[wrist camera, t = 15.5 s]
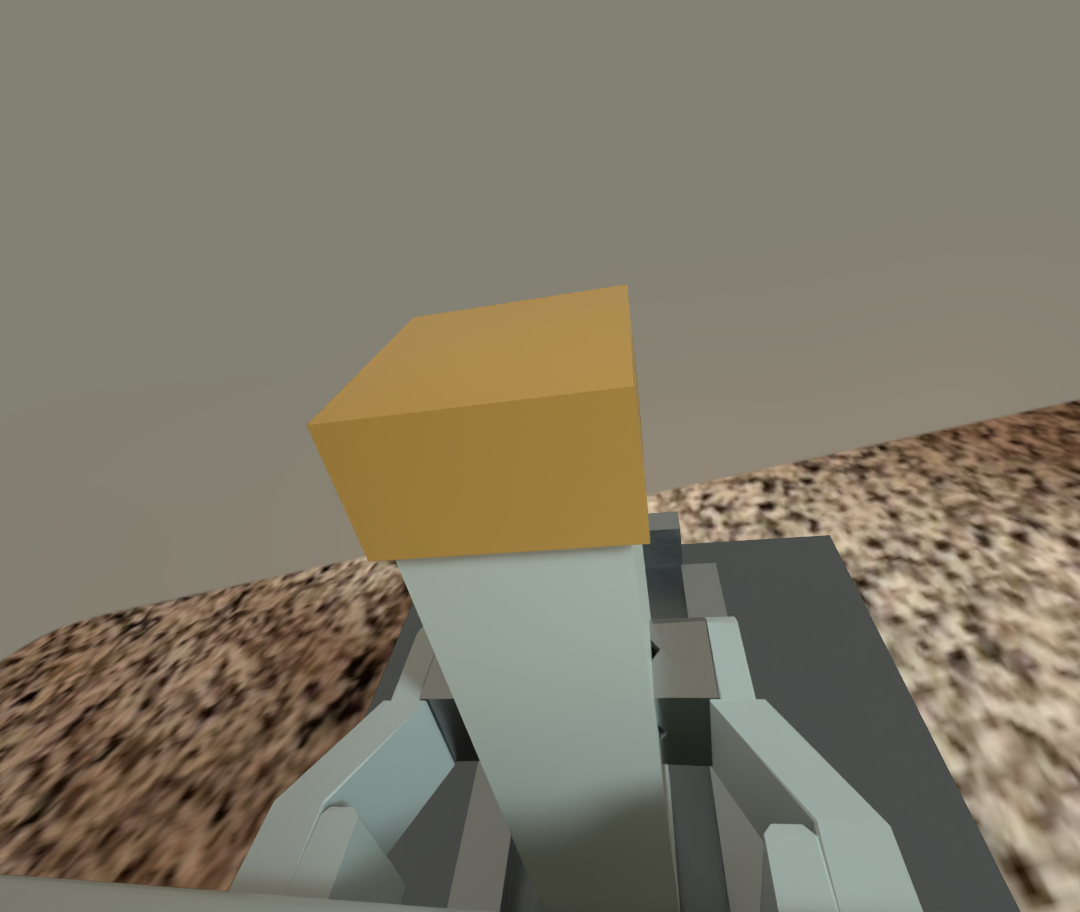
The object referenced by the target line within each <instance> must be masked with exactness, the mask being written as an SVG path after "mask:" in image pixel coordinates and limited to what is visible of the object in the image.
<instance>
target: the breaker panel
mask: <svg viewBox="0 0 1080 912" xmlns="http://www.w3.org/2000/svg"><path fill="white" fill-rule="evenodd" d="M648 520H649V532H650V544H642V546H643V555H644V563H645V572H646V581H647V589H648V598H649V606H650V615H651V619H673V618H696V617H704V618H706V617H732V616H734V617H735V618H736V620H737V622H738V626H739V630H740V634H741V639H742V643H743V647H744V651H745V655H746V660H747V664H748V668H749V672H750V677H751V681H752V685H753V689H754V693H755V698H756V699H765V700H766V701H767V702H768V703H769V704H770V705H771V706H772V707H773V708H774V709H775V710H776V711H777V712H778V713H779V714H780V715H781V716H782V717H783V718H784V719H785V720H786V721H787V722H788V723H789V724H790V725H791V726H792V727H793V728H794V729H795V730H796V731H797V732H798V733H799V734H800V735H801V736H802V737H803V738H804V739H805V740H806V741H807V742H808V743H809V744H810V745H811V746H812V747H813V748H814V749H815V750H816V751H817V752H818V753H819V754H820V755H821V756H822V757H823V758H824V759H825V760H826V761H827V762H828V763H829V764H830V765H831V766H832V767H833V768H834V769H835V770H836V771H837V772H838V773H839V774H840V775H841V777H842V778H843V779H844V780H845V781H846V782H847V783H848V784H849V785H850V786H851V787H852V788H853V789H854V790H855V791H856V792H857V793H858V794H859V795H860V796H861V797H862V798H863V799H864V800H865V801H866V802H867V803H868V804H869V805H870V806H871V807H872V808H873V809H874V810H875V811H876V812H877V813H878V814H879V815H880V816H881V817H882V818H883V819H884V820H885V821H886V822H887V823H888V824H889V825H890V826H891V829H892V831H893V834H894V837H895V839H896V842H897V845H898V847H899V850H900V852H901V855H902V858H903V860H904V863H905V865H906V868H907V871H908V873H909V876H910V879H911V881H912V884H913V886H914V889H915V892H916V894H917V897H918V899H919V902H920V905H921V907H922V910H923V912H1020V910H1019V908H1018V906H1017V904H1016V902H1015V900H1014V898H1013V896H1012V894H1011V892H1010V890H1009V888H1008V886H1007V884H1006V882H1005V880H1004V878H1003V876H1002V875H1001V873H1000V871H999V869H998V867H997V865H996V863H995V861H994V859H993V857H992V855H991V853H990V851H989V849H988V847H987V845H986V843H985V841H984V839H983V837H982V835H981V833H980V831H979V829H978V827H977V825H976V823H975V821H974V819H973V817H972V815H971V813H970V811H969V809H968V807H967V805H966V803H965V801H964V800H963V798H962V796H961V794H960V792H959V790H958V788H957V786H956V784H955V782H954V780H953V778H952V776H951V774H950V772H949V770H948V768H947V766H946V764H945V762H944V760H943V758H942V756H941V754H940V752H939V750H938V748H937V746H936V744H935V742H934V740H933V738H932V736H931V734H930V732H929V730H928V728H927V726H926V725H925V723H924V721H923V719H922V717H921V715H920V713H919V711H918V709H917V707H916V705H915V703H914V701H913V699H912V697H911V695H910V693H909V691H908V689H907V687H906V685H905V683H904V681H903V679H902V677H901V675H900V673H899V671H898V669H897V667H896V665H895V663H894V661H893V659H892V657H891V655H890V653H889V651H888V650H887V648H886V646H885V644H884V642H883V640H882V638H881V636H880V634H879V632H878V630H877V628H876V626H875V624H874V622H873V620H872V618H871V616H870V614H869V612H868V610H867V608H866V606H865V604H864V602H863V600H862V598H861V596H860V594H859V592H858V590H857V588H856V586H855V584H854V582H853V580H852V578H851V576H850V575H849V573H848V571H847V569H846V567H845V565H844V563H843V561H842V559H841V557H840V555H839V553H838V551H837V549H836V547H835V545H834V543H833V541H832V539H831V537H830V535H827V536H811V537H795V538H778V539H762V540H746V541H730V542H713V543H697V544H681V536H680V525H679V519H678V512H664V513H651V514H648ZM422 627H423V624H422V622H421V620H420V617H419V615H418V613H417V610H416V608H415V605H414V603H413V604H412V606H411V608H410V611H409V613H408V616H407V618H406V620H405V623H404V625H403V628H402V630H401V632H400V635H399V637H398V640H397V642H396V644H395V647H394V649H393V652H392V654H391V656H390V659H389V661H388V664H387V666H386V668H385V671H384V673H383V676H382V678H381V680H380V683H379V685H378V688H377V690H376V692H375V695H374V697H373V700H372V702H371V704H370V707H369V709H368V712H367V714H366V716H367V715H368V714H369V713H371V712H372V711H373V710H374V709H375V708H376V707H377V706H378V705H379V704H380V703H381V702H383V701H387V700H391V698H392V696H393V693H394V691H395V688H396V686H397V683H398V681H399V678H400V676H401V673H402V670H403V668H404V665H405V663H406V660H407V658H408V655H409V653H410V650H411V648H412V645H413V643H414V640H415V637H416V635H417V633H418V632H419V630H420V629H421V628H422ZM366 716H365V717H366ZM454 763H455V765H454V767H453V768H452V769H451V771H450V772H449V773H448V775H447V776H446V777H445V779H444V780H443V781H442V783H441V784H440V785H439V786H438V788H437V789H436V790H435V792H434V793H433V794H432V796H431V797H430V798H429V800H428V801H427V802H426V804H425V805H424V806H423V808H422V809H421V810H420V812H419V813H418V814H417V816H416V817H415V818H414V820H413V821H412V822H411V824H410V825H409V826H408V828H407V829H406V830H405V832H404V833H403V834H402V836H401V837H400V838H399V840H398V841H397V842H396V844H395V845H394V846H393V848H392V849H391V850H390V852H389V853H388V854H387V857H388V859H389V860H390V862H391V863H392V865H393V866H394V867H395V869H396V870H397V872H398V873H399V875H400V876H401V878H402V880H403V882H404V885H405V890H404V894H403V898H402V902H401V905H414V906H427V907H440V908H454V909H467V910H480V911H493V912H543V909H542V907H541V905H540V902H539V900H538V898H537V895H536V893H535V890H534V888H533V886H532V883H531V881H530V879H529V876H528V874H527V871H526V869H525V867H524V864H523V862H522V860H521V857H520V855H519V852H518V850H517V848H516V845H515V843H514V841H513V838H512V836H511V833H510V831H509V829H508V826H507V824H506V822H505V819H504V817H503V814H502V812H501V810H500V807H499V805H498V803H497V800H496V798H495V795H494V793H493V791H492V788H491V786H490V784H489V781H488V779H487V776H486V774H485V772H484V769H483V767H482V765H481V762H480V761H454ZM668 770H669V778H670V788H671V800H672V813H673V825H674V838H675V850H676V862H677V875H678V887H679V900H680V912H760V900H761V881H762V862H763V844H764V842H763V841H762V839H761V838H760V837H759V835H758V834H757V832H756V831H755V829H754V828H753V826H752V825H751V824H750V822H749V821H748V819H747V818H746V816H745V815H744V813H743V812H742V811H741V809H740V808H739V806H738V805H737V803H736V802H735V801H734V799H733V798H732V796H731V795H730V793H729V792H728V790H727V789H726V788H725V786H724V785H723V783H722V782H721V780H720V779H719V777H718V776H717V775H716V773H715V772H714V770H713V767H711V766H690V765H669V764H668Z"/></svg>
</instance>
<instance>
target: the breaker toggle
mask: <svg viewBox="0 0 1080 912" xmlns="http://www.w3.org/2000/svg"><path fill="white" fill-rule="evenodd" d="M636 376H637V375H636V366H635V356H634V346H633V336H632V327H631V317H630V307H629V298H628V288H627V284H626V285H620V286H614V287H607V288H601V289H594V290H588V291H581V292H575V293H569V294H562V295H556V296H549V297H543V298H537V299H530V300H523V301H517V302H510V303H505V304H497V305H492V306H485V307H478V308H472V309H466V310H459V311H453V312H446V313H439V314H434V315H427V316H420V317H414V318H413V319H412V320H411V321H410V322H409V323H408V324H407V325H406V326H405V327H404V328H403V329H402V330H401V331H400V332H399V333H398V334H397V335H396V336H395V337H394V338H393V339H392V340H391V341H390V342H389V343H388V344H387V345H386V346H385V347H384V348H383V349H382V350H381V351H380V352H379V353H378V354H377V355H376V356H375V357H374V358H373V359H372V360H371V361H370V362H369V363H368V364H367V365H366V366H365V367H364V368H363V369H362V370H361V371H360V372H359V373H358V374H357V375H356V376H355V377H354V378H353V379H352V380H351V381H350V382H349V383H348V384H347V385H346V386H345V387H344V388H343V389H342V390H341V391H340V392H339V393H338V394H337V395H336V396H335V397H334V398H333V399H332V400H331V401H330V402H329V403H328V404H327V405H326V406H325V407H324V408H323V409H322V410H321V411H320V412H319V413H318V414H317V415H316V416H315V417H314V418H313V419H312V420H311V421H310V422H309V423H308V424H307V427H308V429H309V431H310V434H311V436H312V438H313V440H314V442H315V444H316V447H317V449H318V451H319V453H320V456H321V458H322V460H323V462H324V464H325V466H326V469H327V471H328V473H329V475H330V477H331V480H332V482H333V484H334V486H335V488H336V491H337V493H338V495H339V497H340V500H341V502H342V504H343V506H344V508H345V511H346V513H347V515H348V517H349V519H350V522H351V524H352V526H353V528H354V530H355V533H356V535H357V537H358V539H359V541H360V543H361V546H362V548H363V550H364V552H365V555H366V557H367V559H368V561H384V560H396V563H397V565H398V567H399V570H400V572H401V575H402V577H403V579H404V582H405V584H406V586H407V589H408V591H409V594H410V596H411V598H412V601H413V603H414V605H415V608H416V610H417V613H418V615H419V617H420V620H421V622H422V624H423V627H424V629H425V632H426V634H427V636H428V639H429V641H430V643H431V646H432V648H433V651H434V653H435V655H436V658H437V660H438V662H439V665H440V667H441V670H442V672H443V674H444V677H445V679H446V681H447V684H448V686H449V689H450V691H451V693H452V696H453V698H454V700H455V703H456V705H457V708H458V710H459V712H460V715H461V717H462V719H463V722H464V724H465V727H466V729H467V731H468V734H469V736H470V738H471V741H472V743H473V746H474V748H475V750H476V753H477V755H478V757H479V760H480V762H481V765H482V767H483V769H484V772H485V774H486V776H487V779H488V781H489V784H490V786H491V788H492V791H493V793H494V795H495V798H496V800H497V803H498V805H499V807H500V810H501V812H502V814H503V817H504V819H505V822H506V824H507V826H508V829H509V831H510V833H511V836H512V838H513V841H514V843H515V845H516V848H517V850H518V852H519V855H520V857H521V860H522V862H523V864H524V867H525V869H526V871H527V874H528V876H529V879H530V881H531V883H532V886H533V888H534V890H535V893H536V895H537V898H538V900H539V902H540V905H541V907H542V909H543V912H680V900H679V887H678V875H677V862H676V850H675V838H674V825H673V813H672V800H671V788H670V778H669V770H668V764H662V758H661V750H660V742H659V729H658V725H657V718H656V710H655V702H654V691H653V675H652V659H653V658H652V650H651V642H650V628H649V620H651V615H650V606H649V598H648V589H647V581H646V572H645V563H644V555H643V546H642V544H650V532H649V520H648V507H647V494H646V482H645V470H644V457H643V446H642V445H643V444H642V432H641V419H640V407H639V395H638V385H637V377H636Z"/></svg>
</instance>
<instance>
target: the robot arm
mask: <svg viewBox="0 0 1080 912" xmlns="http://www.w3.org/2000/svg"><path fill="white" fill-rule="evenodd" d="M649 628H650V642H651V650H652V658H653V659H652V675H653V691H654V702H655V710H656V718H657V725H658V729H659V742H660V750H661V758H662V764H669V765H690V766H711V767H713V770H714V772H715V773H716V775H717V776H718V777H719V779H720V780H721V782H722V783H723V785H724V786H725V788H726V789H727V790H728V792H729V793H730V795H731V796H732V798H733V799H734V801H735V802H736V803H737V805H738V806H739V808H740V809H741V811H742V812H743V813H744V815H745V816H746V818H747V819H748V821H749V822H750V824H751V825H752V826H753V828H754V829H755V831H756V832H757V834H758V835H759V837H760V838H761V839H762V841H763V842H764V844H763V862H762V881H761V900H760V912H923V910H922V907H921V905H920V902H919V899H918V897H917V894H916V892H915V889H914V886H913V884H912V881H911V879H910V876H909V873H908V871H907V868H906V865H905V863H904V860H903V858H902V855H901V852H900V850H899V847H898V845H897V842H896V839H895V837H894V834H893V831H892V829H891V826H890V825H889V824H888V823H887V822H886V821H885V820H884V819H883V818H882V817H881V816H880V815H879V814H878V813H877V812H876V811H875V810H874V809H873V808H872V807H871V806H870V805H869V804H868V803H867V802H866V801H865V800H864V799H863V798H862V797H861V796H860V795H859V794H858V793H857V792H856V791H855V790H854V789H853V788H852V787H851V786H850V785H849V784H848V783H847V782H846V781H845V780H844V779H843V778H842V777H841V775H840V774H839V773H838V772H837V771H836V770H835V769H834V768H833V767H832V766H831V765H830V764H829V763H828V762H827V761H826V760H825V759H824V758H823V757H822V756H821V755H820V754H819V753H818V752H817V751H816V750H815V749H814V748H813V747H812V746H811V745H810V744H809V743H808V742H807V741H806V740H805V739H804V738H803V737H802V736H801V735H800V734H799V733H798V732H797V731H796V730H795V729H794V728H793V727H792V726H791V725H790V724H789V723H788V722H787V721H786V720H785V719H784V718H783V717H782V716H781V715H780V714H779V713H778V712H777V711H776V710H775V709H774V708H773V707H772V706H771V705H770V704H769V703H768V702H767V701H766V700H765V699H756V698H755V693H754V689H753V685H752V681H751V677H750V672H749V668H748V664H747V660H746V655H745V651H744V647H743V643H742V639H741V634H740V630H739V626H738V622H737V620H736V618H735V617H734V616H732V617H706V618H704V617H696V618H673V619H651V620H649ZM454 761H480V760H479V757H478V755H477V753H476V750H475V748H474V746H473V743H472V741H471V738H470V736H469V734H468V731H467V729H466V727H465V724H464V722H463V719H462V717H461V715H460V712H459V710H458V708H457V705H456V703H455V700H454V698H453V696H452V693H451V691H450V689H449V686H448V684H447V681H446V679H445V677H444V674H443V672H442V670H441V667H440V665H439V662H438V660H437V658H436V655H435V653H434V651H433V648H432V646H431V643H430V641H429V639H428V636H427V634H426V632H425V629H424V627H422V628H421V629H420V630H419V632H418V633H417V635H416V637H415V640H414V643H413V645H412V648H411V650H410V653H409V655H408V658H407V660H406V663H405V665H404V668H403V670H402V673H401V676H400V678H399V681H398V683H397V686H396V688H395V691H394V693H393V696H392V698H391V700H387V701H383V702H381V703H380V704H379V705H378V706H377V707H376V708H375V709H374V710H373V711H372V712H371V713H369V714H368V715H367V716H366V717H365V718H364V719H363V720H362V721H361V722H360V723H359V724H357V725H356V726H355V727H354V728H353V729H352V730H351V731H350V732H349V733H348V734H347V735H346V736H344V737H343V738H342V739H341V740H340V741H339V742H338V743H337V744H336V745H335V746H334V747H332V748H331V749H330V750H329V751H328V752H327V753H326V754H325V755H324V756H323V757H322V758H321V759H319V760H318V761H317V762H316V763H315V764H314V765H313V766H312V767H311V768H310V769H309V770H307V771H306V772H305V773H304V774H303V775H302V776H301V777H300V778H299V779H298V780H297V781H295V782H294V783H293V784H292V785H291V786H290V787H289V788H288V789H287V790H286V791H285V792H284V793H282V794H281V795H280V796H279V797H278V798H277V799H276V800H275V801H274V802H273V804H272V806H271V808H270V810H269V812H268V814H267V816H266V818H265V820H264V822H263V824H262V826H261V828H260V830H259V832H258V834H257V836H256V838H255V840H254V842H253V844H252V846H251V848H250V849H249V851H248V853H247V855H246V857H245V859H244V861H243V863H242V865H241V867H240V869H239V871H238V873H237V875H236V877H235V879H234V881H233V883H232V885H231V887H230V889H229V891H217V890H204V889H191V888H177V887H164V886H151V885H138V884H125V883H112V882H98V881H85V880H72V879H59V878H46V877H33V876H20V875H6V874H0V912H493V911H480V910H467V909H454V908H440V907H427V906H414V905H401V902H402V898H403V894H404V890H405V885H404V882H403V880H402V878H401V876H400V875H399V873H398V872H397V870H396V869H395V867H394V866H393V865H392V863H391V862H390V860H389V859H388V857H387V854H388V853H389V852H390V850H391V849H392V848H393V846H394V845H395V844H396V842H397V841H398V840H399V838H400V837H401V836H402V834H403V833H404V832H405V830H406V829H407V828H408V826H409V825H410V824H411V822H412V821H413V820H414V818H415V817H416V816H417V814H418V813H419V812H420V810H421V809H422V808H423V806H424V805H425V804H426V802H427V801H428V800H429V798H430V797H431V796H432V794H433V793H434V792H435V790H436V789H437V788H438V786H439V785H440V784H441V783H442V781H443V780H444V779H445V777H446V776H447V775H448V773H449V772H450V771H451V769H452V768H453V767H454V765H455V763H454Z"/></svg>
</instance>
